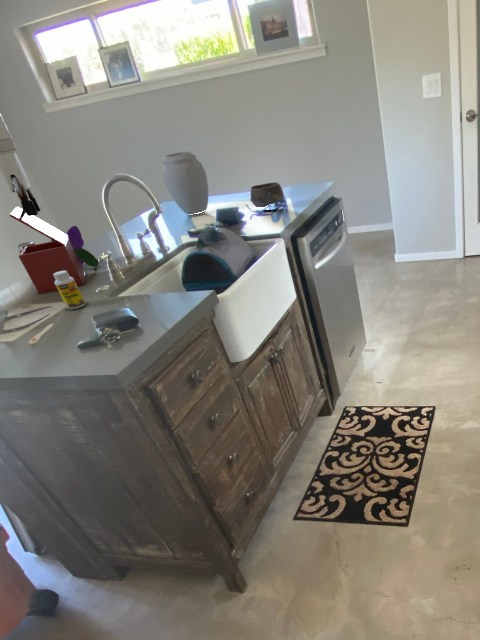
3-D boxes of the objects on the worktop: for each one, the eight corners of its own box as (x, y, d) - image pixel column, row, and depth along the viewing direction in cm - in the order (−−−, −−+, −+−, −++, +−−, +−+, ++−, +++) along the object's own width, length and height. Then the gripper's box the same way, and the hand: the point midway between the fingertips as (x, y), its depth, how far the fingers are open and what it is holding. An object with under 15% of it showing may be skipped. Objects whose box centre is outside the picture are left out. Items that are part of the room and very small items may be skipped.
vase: (223, 207, 255) (206, 148, 238) (207, 217, 240) (188, 155, 224) (187, 211, 258) (168, 152, 242) (169, 221, 244) (148, 160, 228)
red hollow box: (39, 294, 177) (18, 256, 169) (43, 283, 187) (24, 246, 179) (83, 284, 180) (64, 246, 172) (85, 274, 190) (68, 237, 182)
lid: (9, 216, 163) (15, 200, 161) (16, 208, 172) (21, 194, 171) (63, 246, 172) (69, 232, 170) (67, 237, 182) (72, 224, 180)
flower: (112, 275, 204) (81, 258, 204) (110, 238, 193) (78, 220, 192) (85, 288, 194) (53, 271, 194) (81, 250, 183) (47, 232, 183)
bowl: (286, 210, 232) (280, 185, 225) (252, 216, 231) (245, 190, 225) (286, 204, 242) (281, 179, 236) (254, 209, 242) (247, 185, 235)
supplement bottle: (68, 311, 159) (50, 277, 152) (66, 307, 163) (49, 273, 156) (87, 306, 161) (70, 272, 154) (85, 301, 165) (68, 268, 158)
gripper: (-6, 147, 163) (26, 211, 175) (-17, 152, 151) (18, 220, 163) (19, 143, 165) (49, 207, 177) (10, 147, 152) (43, 216, 164)
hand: (34, 213), depth 169 cm, fingers closed on lid, 6 cm apart
